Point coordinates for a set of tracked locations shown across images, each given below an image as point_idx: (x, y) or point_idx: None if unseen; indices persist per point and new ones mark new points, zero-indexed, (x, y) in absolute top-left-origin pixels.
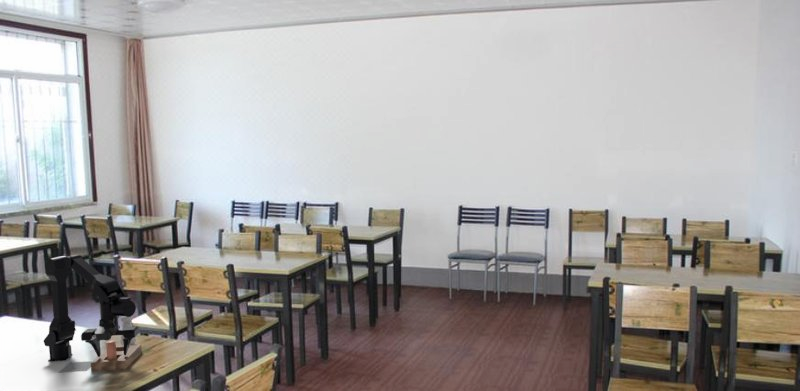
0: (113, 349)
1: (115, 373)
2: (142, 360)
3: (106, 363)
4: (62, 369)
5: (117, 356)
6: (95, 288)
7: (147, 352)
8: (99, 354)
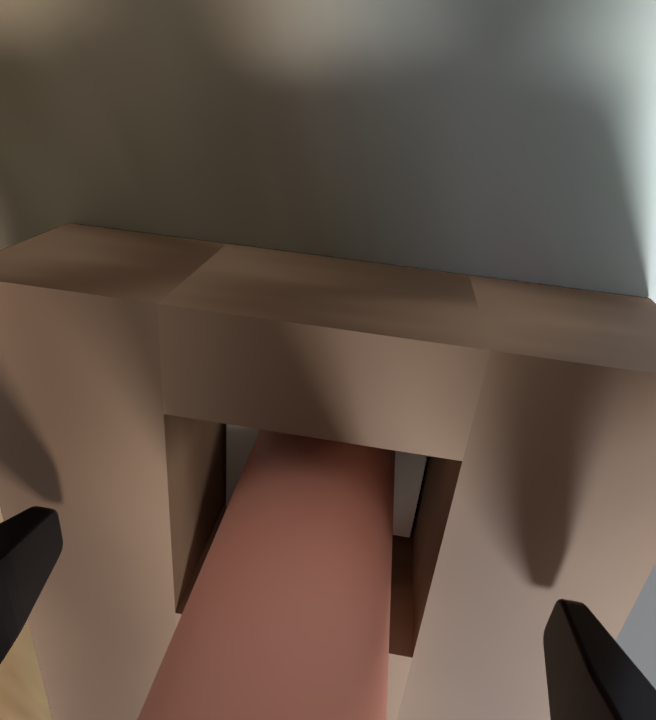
0: (176, 663)
1: (183, 90)
2: None
3: (358, 312)
4: None
5: None
6: None
7: None
8: (564, 657)
